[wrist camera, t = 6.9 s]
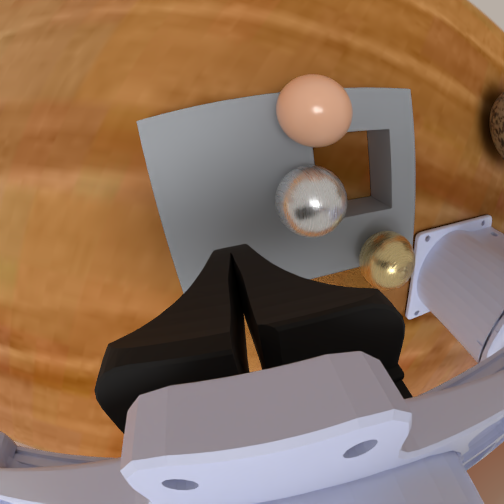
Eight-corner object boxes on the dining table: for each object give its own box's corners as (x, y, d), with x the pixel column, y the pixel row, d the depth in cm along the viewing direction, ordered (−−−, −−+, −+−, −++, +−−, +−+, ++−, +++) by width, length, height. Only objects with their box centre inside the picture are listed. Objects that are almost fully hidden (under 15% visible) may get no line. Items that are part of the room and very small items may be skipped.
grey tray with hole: (386, 89, 15) (410, 88, 13) (391, 237, 19) (411, 252, 17) (146, 120, 14) (136, 121, 12) (189, 282, 18) (187, 306, 16)
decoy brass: (396, 217, 16) (429, 239, 13) (393, 265, 17) (422, 292, 14) (348, 228, 16) (378, 253, 13) (349, 277, 17) (374, 308, 14)
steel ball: (263, 159, 13) (325, 151, 14) (264, 219, 15) (320, 207, 16) (297, 192, 10) (367, 180, 11) (292, 259, 12) (354, 242, 13)
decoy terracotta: (329, 76, 12) (360, 69, 9) (337, 139, 14) (370, 147, 11) (263, 81, 12) (281, 72, 9) (274, 148, 13) (294, 157, 10)
